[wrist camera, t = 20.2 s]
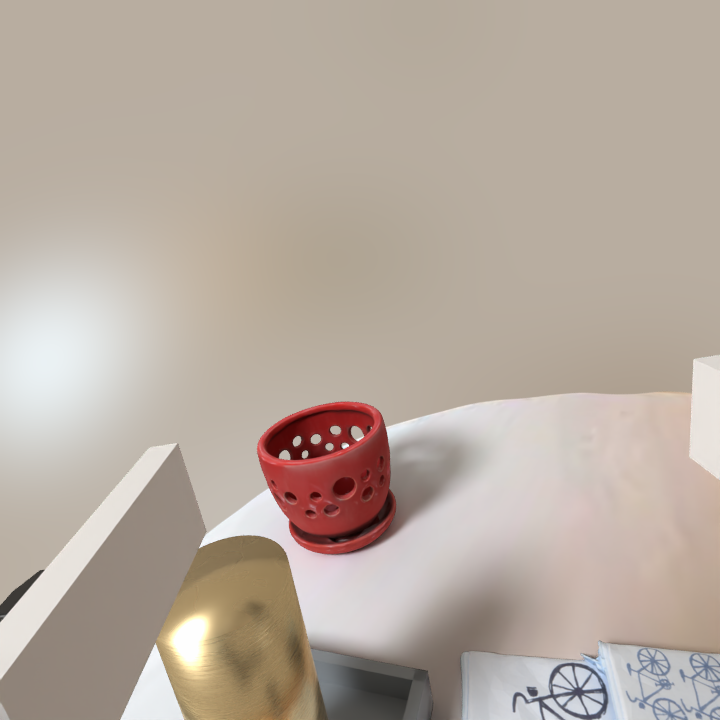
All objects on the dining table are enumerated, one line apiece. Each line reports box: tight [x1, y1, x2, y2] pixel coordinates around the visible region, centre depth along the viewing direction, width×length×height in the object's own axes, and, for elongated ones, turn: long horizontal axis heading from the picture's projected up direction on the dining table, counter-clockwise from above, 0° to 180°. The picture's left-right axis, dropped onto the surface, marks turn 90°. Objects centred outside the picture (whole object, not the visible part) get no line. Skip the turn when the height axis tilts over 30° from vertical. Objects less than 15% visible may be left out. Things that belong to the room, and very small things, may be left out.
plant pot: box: [257, 402, 396, 554], centre depth 50 cm, size 13×13×12 cm
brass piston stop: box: [156, 535, 328, 720], centre depth 24 cm, size 6×6×16 cm
